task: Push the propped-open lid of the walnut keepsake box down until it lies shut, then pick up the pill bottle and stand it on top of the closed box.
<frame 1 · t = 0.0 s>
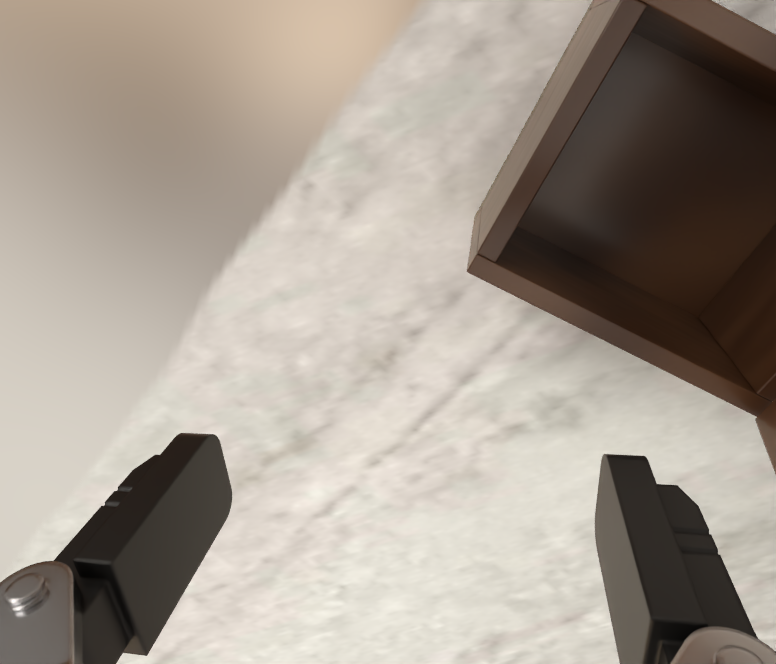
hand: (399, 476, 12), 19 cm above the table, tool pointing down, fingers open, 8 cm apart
keepsake box: (652, 178, 26), on the table
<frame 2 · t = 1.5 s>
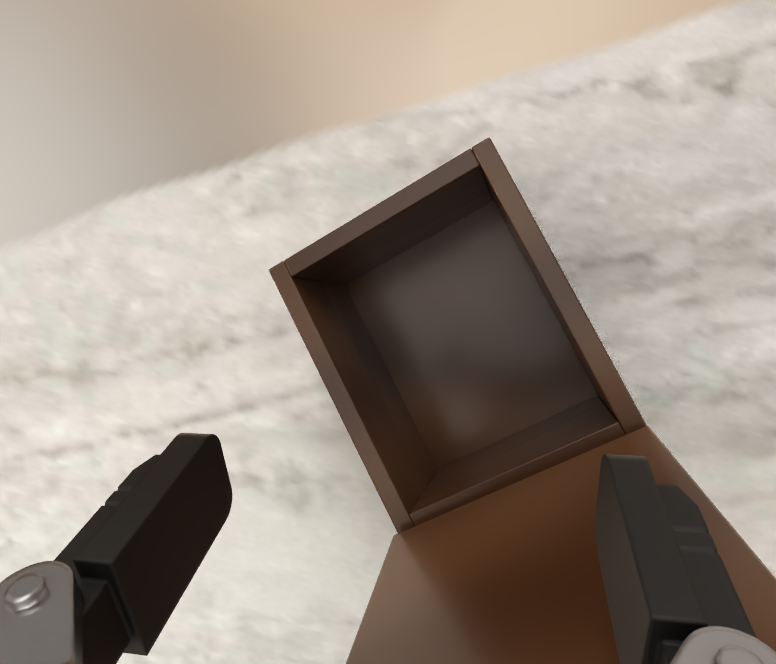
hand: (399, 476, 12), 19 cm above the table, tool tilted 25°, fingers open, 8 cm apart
keepsake box: (466, 336, 30), on the table
lid: (525, 598, 15), point 15 cm above the table, hinge at 97.3°, touching gripper
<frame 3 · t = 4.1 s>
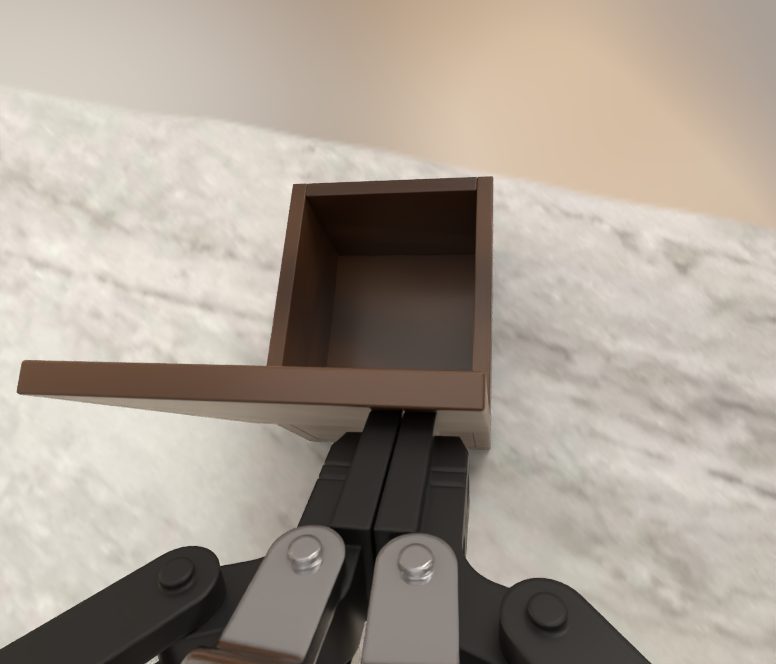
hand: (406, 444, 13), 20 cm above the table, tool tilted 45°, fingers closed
keepsake box: (403, 341, 35), on the table
lid: (323, 407, 18), point 15 cm above the table, hinge at 97.3°, touching gripper
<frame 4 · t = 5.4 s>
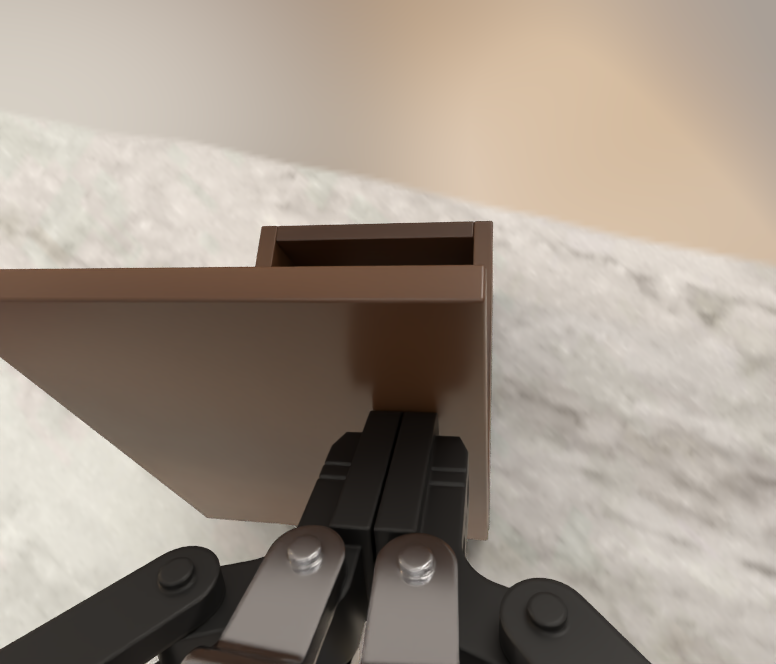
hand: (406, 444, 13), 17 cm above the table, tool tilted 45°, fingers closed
keepsake box: (391, 399, 30), on the table
lid: (290, 441, 15), point 15 cm above the table, hinge at 73.8°, touching gripper
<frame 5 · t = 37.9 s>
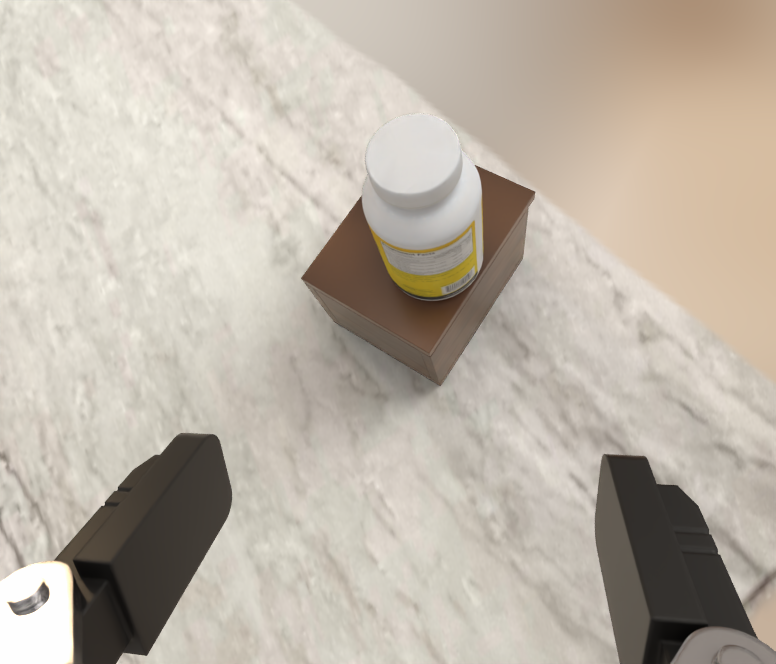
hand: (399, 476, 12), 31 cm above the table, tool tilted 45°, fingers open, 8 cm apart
keepsake box: (427, 290, 46), on the table
lid: (417, 238, 39), point 8 cm above the table, hinge at -0.2°, touching keepsake box, pill bottle
pill bottle: (435, 261, 38), point 8 cm above the table, touching lid
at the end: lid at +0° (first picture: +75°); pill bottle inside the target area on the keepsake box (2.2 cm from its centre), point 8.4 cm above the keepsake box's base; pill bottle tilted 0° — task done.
